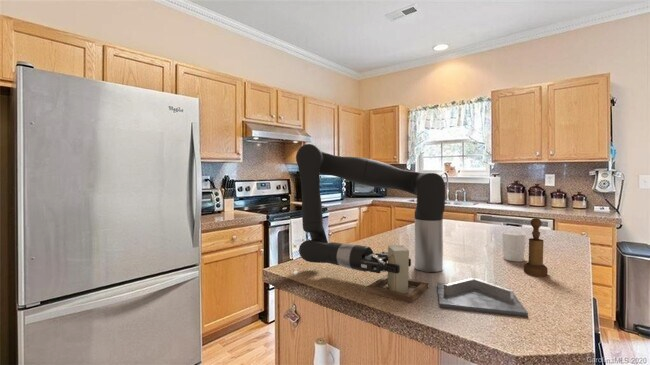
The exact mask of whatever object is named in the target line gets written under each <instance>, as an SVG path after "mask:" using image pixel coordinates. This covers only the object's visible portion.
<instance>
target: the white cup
mask: <svg viewBox="0 0 650 365" xmlns="http://www.w3.org/2000/svg"><path fill="white" fill-rule="evenodd" d="M526 236H527V234H526V232H521V231H520V232H519V231H514V230H513V231H510V230H509V231H508V230H507V231H505V230H504V231H501V242H502V243H501V244H502V252H503V253H502V254H503V255H502V258H503V260H505V261H509V262H519V263H520V262H523V261H525V252H526V239H527V237H526Z"/></svg>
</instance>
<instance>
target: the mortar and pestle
mask: <svg viewBox="0 0 650 365" xmlns="http://www.w3.org/2000/svg"><path fill="white" fill-rule="evenodd" d="M530 225H531V226H532V229H533V231H532V232H531V234H532V238H528V261H527V262H526V263H524V264H523V272H524V273H525V274H527V275H530V276H536V277H547V276H548V267H547V266H546V265H545V264H544V239H541V238H540V237H541V232H540V228H541V226H542V220H541V219H540V218H538V217H535V218H532V219H531V220H530Z"/></svg>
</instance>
